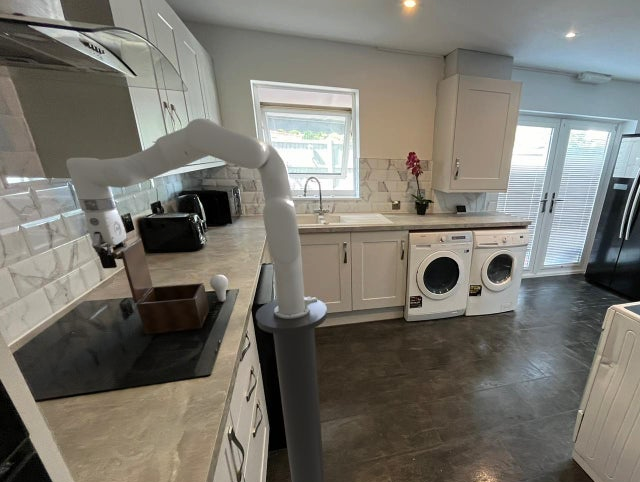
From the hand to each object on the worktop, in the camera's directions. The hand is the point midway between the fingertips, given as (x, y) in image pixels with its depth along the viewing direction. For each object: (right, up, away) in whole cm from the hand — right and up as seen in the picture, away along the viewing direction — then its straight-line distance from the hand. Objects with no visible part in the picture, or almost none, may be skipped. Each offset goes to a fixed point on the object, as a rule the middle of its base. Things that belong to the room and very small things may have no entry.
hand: (116, 262), depth 98 cm
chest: (+11, -19, +13) cm, 25 cm away
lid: (+5, -2, +3) cm, 6 cm away
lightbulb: (+17, -13, +28) cm, 35 cm away
